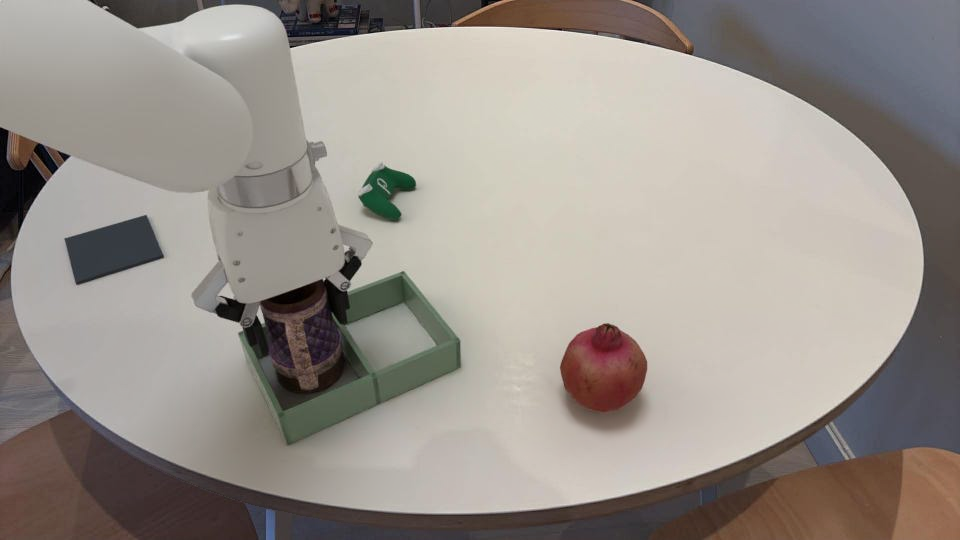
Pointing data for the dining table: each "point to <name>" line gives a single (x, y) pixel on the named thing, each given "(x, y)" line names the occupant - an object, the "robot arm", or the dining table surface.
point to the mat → (112, 249)
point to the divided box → (365, 361)
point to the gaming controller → (384, 190)
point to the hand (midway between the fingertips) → (300, 329)
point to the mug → (303, 338)
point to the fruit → (603, 368)
